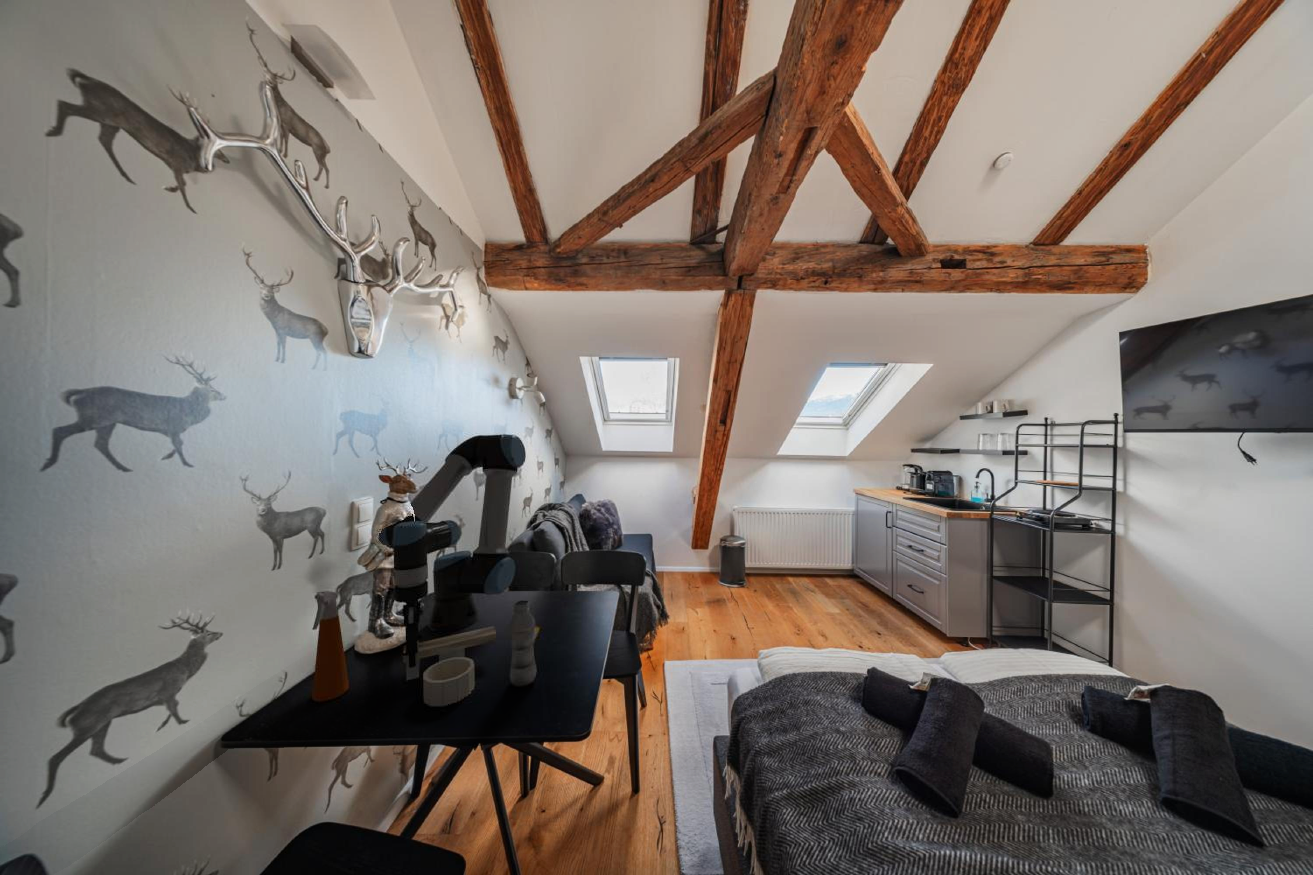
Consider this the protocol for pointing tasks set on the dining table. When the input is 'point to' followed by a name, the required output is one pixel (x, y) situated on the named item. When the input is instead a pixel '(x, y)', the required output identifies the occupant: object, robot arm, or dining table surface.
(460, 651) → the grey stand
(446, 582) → the robot arm
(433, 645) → the cover board
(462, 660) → the oval ring
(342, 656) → the spray bottle
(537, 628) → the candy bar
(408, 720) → the dining table surface
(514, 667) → the plastic bottle
